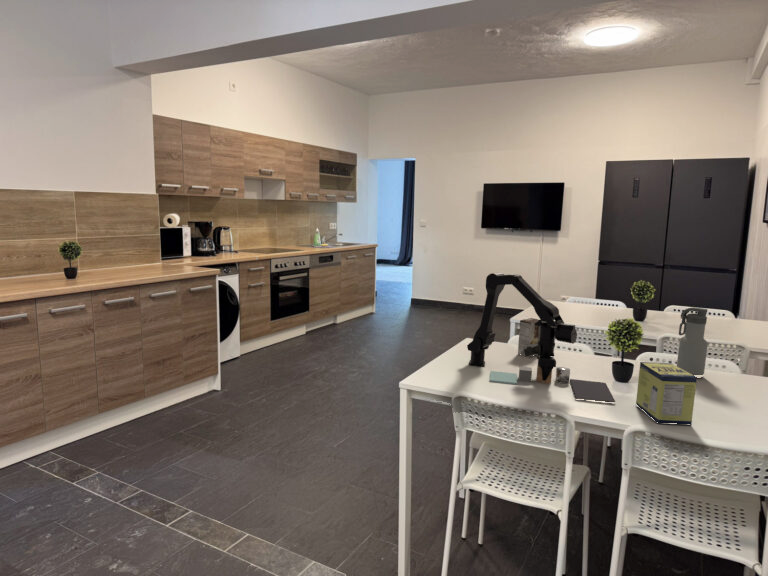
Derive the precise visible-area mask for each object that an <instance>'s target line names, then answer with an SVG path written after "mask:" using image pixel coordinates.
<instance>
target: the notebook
mask: <svg viewBox="0 0 768 576" xmlns="http://www.w3.org/2000/svg"><path fill="white" fill-rule="evenodd" d="M570 382H571V384H570V386H571V385H572V387H571V389H573V390H572V393H573V392H574V393H573V396H574V395H575V396H574V398H576V399H584V400H595V401H605V402H615V403H616V400H615V398H614V396H613V395H612V392H611V390H610V387H608V385H607V383H606V382H601V381H592V380H585V379H584V380H581V379H573V378H569V383H570Z"/></svg>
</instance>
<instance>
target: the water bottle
mask: <svg viewBox="0 0 768 576" xmlns="http://www.w3.org/2000/svg"><path fill="white" fill-rule="evenodd" d="M689 312H697V313H689ZM707 313H708V309H707V308H703V307H702V308H701V307H695V306H694V307H692V306H691V307H689V308H685V309H684V310H683V311H681V313H680V319H681V323H679V326H678V327H679V329H678V336H682V337H680V339H679V344H678V345H679V346H678V351H677V352H678V353H677V361H676V366H677V367H679V368H680V369H682V370H684V371H686V372H688V373H690V374H692V375H703V374H704V375H705V367H706V361H707V353H708V345H709V344H708V341H707V340H706V339H705V329H706V325H707V319H708V317H707ZM683 325H684V326H683ZM682 327H683V328H682ZM682 329H683V332H682ZM683 335H684V336H683Z"/></svg>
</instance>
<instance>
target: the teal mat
mask: <svg viewBox="0 0 768 576" xmlns="http://www.w3.org/2000/svg"><path fill="white" fill-rule="evenodd" d="M517 375H518V373H513V372H507V371H506V372H503V371H496V370H490V375H489V376H490V377H489V383H490V382H491V383H500V384H509V385H518V376H517Z"/></svg>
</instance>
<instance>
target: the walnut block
mask: <svg viewBox="0 0 768 576" xmlns="http://www.w3.org/2000/svg"><path fill="white" fill-rule="evenodd" d="M536 365H537V368H536V382H537V383H540V382H544V383H543V384H550V383H551V384H552V375H553V370H552V371H551V372H550V374H549V376H548V378H547V379H546V381H544V380H543V378H542V369H541V367H540V366H539V365H538V364H536Z"/></svg>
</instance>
